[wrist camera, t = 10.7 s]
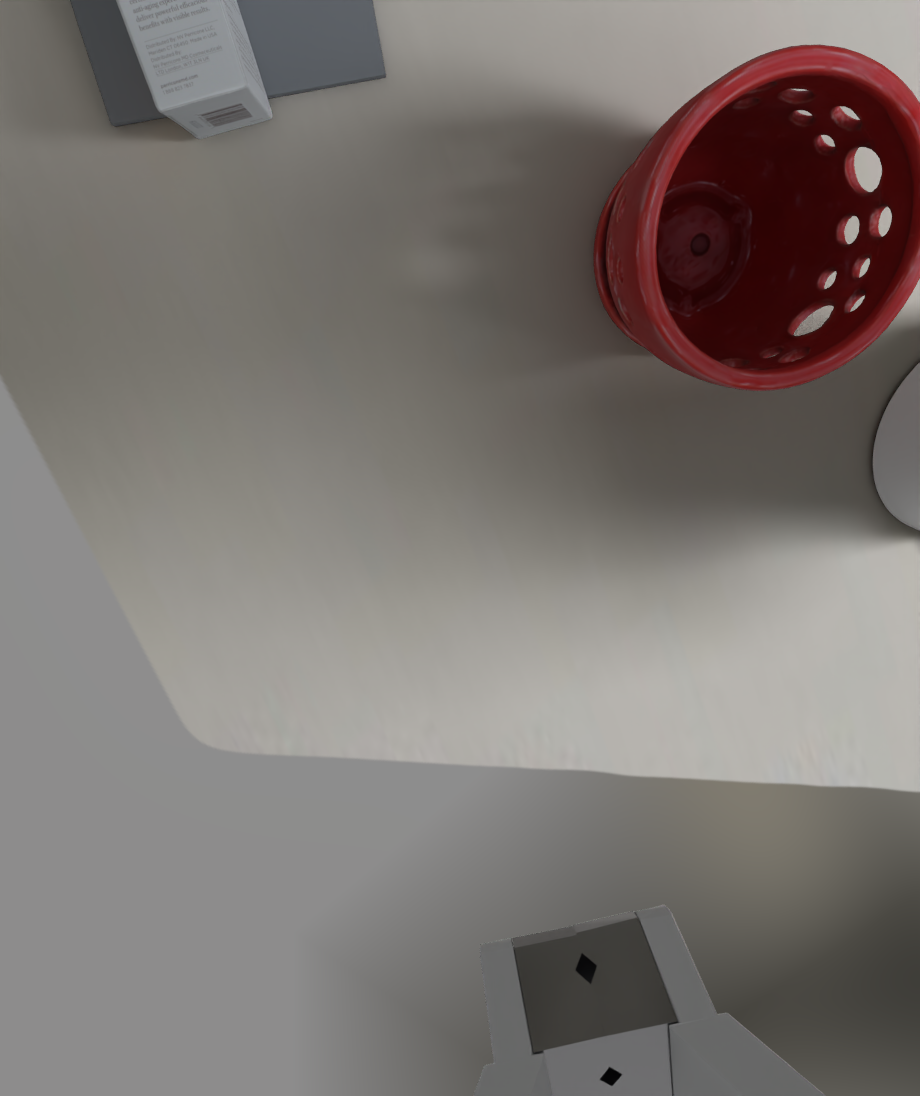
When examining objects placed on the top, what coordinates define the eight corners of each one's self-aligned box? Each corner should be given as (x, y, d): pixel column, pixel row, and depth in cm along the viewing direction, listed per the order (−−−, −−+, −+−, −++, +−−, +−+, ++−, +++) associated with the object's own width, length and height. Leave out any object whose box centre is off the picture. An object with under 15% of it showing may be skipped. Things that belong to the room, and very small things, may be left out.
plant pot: (789, 96, 35) (972, 9, 24) (782, 343, 40) (929, 366, 29) (556, 137, 35) (632, 69, 24) (578, 381, 40) (650, 419, 29)
